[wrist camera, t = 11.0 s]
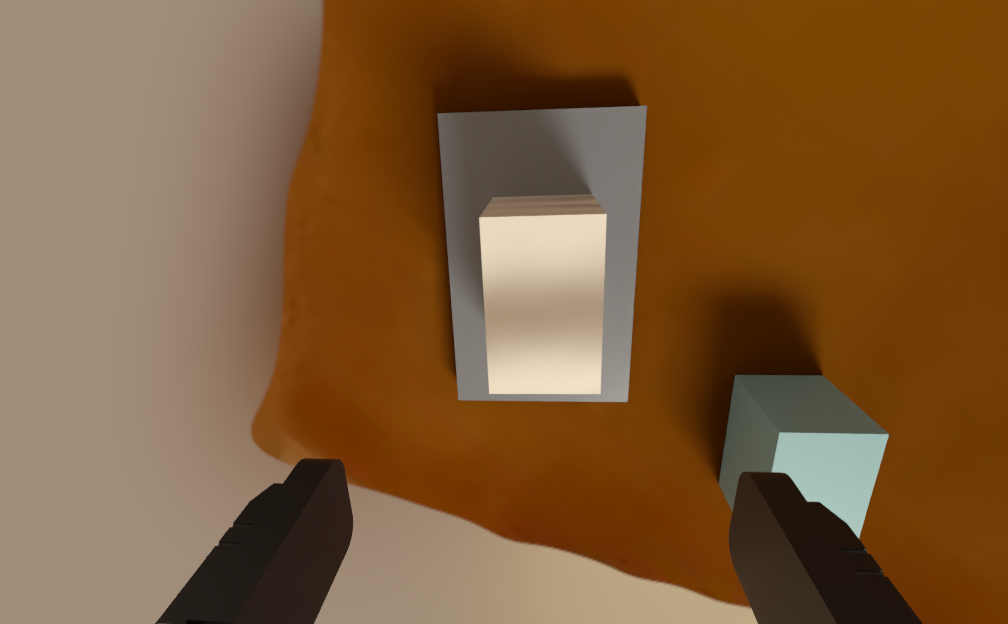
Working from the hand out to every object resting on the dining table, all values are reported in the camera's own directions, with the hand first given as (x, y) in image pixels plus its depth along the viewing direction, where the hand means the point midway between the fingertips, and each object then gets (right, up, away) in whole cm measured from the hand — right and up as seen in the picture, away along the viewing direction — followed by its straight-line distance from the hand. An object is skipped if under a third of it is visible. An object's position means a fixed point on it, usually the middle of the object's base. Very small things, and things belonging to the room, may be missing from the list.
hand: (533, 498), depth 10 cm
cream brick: (+1, +6, +16) cm, 17 cm away
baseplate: (+1, +7, +18) cm, 19 cm away
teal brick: (+16, -4, +21) cm, 26 cm away
